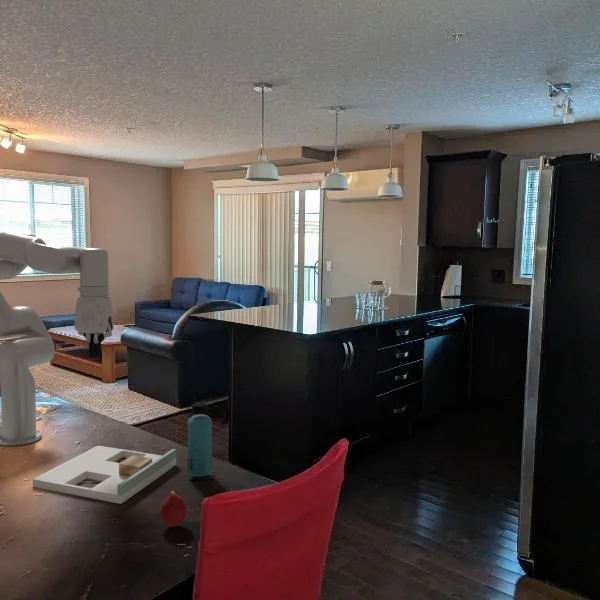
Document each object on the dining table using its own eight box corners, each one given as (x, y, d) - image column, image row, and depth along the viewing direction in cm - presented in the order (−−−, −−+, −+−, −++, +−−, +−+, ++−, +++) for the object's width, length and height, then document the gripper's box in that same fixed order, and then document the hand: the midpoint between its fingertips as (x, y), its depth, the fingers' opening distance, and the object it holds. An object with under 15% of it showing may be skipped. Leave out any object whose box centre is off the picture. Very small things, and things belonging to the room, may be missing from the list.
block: (119, 474, 141) (118, 463, 141) (132, 466, 147) (132, 455, 147) (139, 478, 139) (139, 466, 139) (152, 469, 145) (152, 458, 145)
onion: (191, 523, 122) (192, 488, 121) (177, 535, 116) (178, 499, 116) (169, 518, 124) (169, 484, 123) (154, 530, 118) (154, 495, 117)
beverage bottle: (216, 475, 147) (217, 402, 145) (202, 484, 141) (203, 408, 139) (196, 470, 150) (197, 398, 148) (181, 479, 144) (182, 405, 142)
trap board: (32, 486, 138) (32, 469, 137) (98, 452, 161) (97, 437, 161) (121, 503, 130) (121, 485, 129) (176, 464, 154) (176, 449, 153)
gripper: (63, 291, 153) (64, 356, 155) (108, 294, 149) (109, 361, 151) (81, 290, 160) (82, 351, 162) (125, 292, 156) (125, 356, 158)
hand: (95, 356), depth 156 cm, fingers closed
